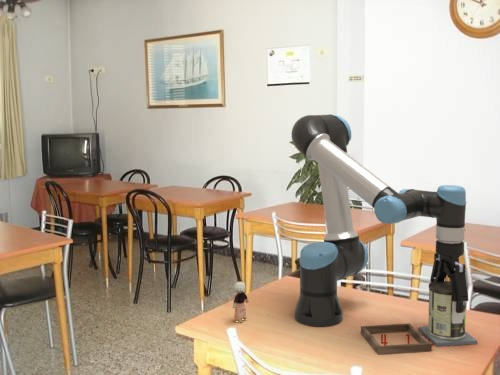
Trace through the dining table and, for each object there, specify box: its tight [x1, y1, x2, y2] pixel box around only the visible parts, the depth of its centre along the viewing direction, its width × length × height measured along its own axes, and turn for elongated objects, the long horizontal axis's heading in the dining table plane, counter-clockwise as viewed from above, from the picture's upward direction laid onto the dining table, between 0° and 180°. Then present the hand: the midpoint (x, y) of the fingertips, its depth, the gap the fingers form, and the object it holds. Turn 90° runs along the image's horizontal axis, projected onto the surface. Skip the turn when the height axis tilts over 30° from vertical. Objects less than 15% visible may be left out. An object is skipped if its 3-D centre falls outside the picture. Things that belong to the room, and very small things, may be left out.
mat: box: [417, 325, 478, 348], centre depth 156 cm, size 12×12×1 cm
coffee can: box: [427, 280, 467, 340], centre depth 155 cm, size 10×10×14 cm
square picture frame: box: [360, 322, 433, 355], centre depth 153 cm, size 15×15×2 cm
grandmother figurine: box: [232, 281, 249, 323], centre depth 170 cm, size 8×4×13 cm, turn 156°
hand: (447, 315), depth 155 cm, fingers open, 11 cm apart
